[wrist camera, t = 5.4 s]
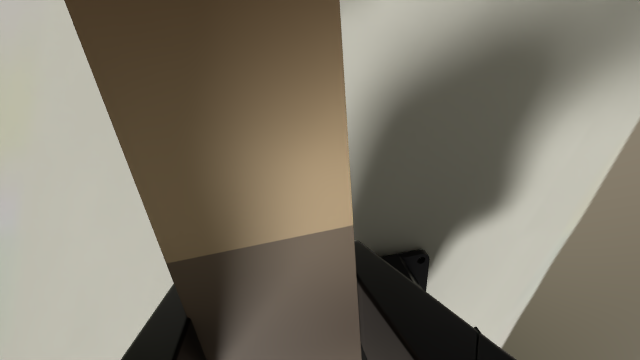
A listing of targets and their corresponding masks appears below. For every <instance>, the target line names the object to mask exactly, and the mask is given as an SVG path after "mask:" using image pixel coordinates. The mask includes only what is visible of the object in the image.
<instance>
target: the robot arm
mask: <svg viewBox="0 0 640 360" xmlns="http://www.w3.org/2000/svg"><path fill="white" fill-rule="evenodd" d="M354 245H355V261H356V277H357V293H358V310H359V326H360V342H361V358H362V360H516V359H515V358H514V357H512V356H511V355H510V354H508V353H507V352H505V351H504V350H503V349H501V348H500V347H498V346H497V345H496V344H494V343H493V342H492V341H490V340H489V339H488V338H486V337H485V336H484V335H483V334H481V332H480V331H479V330H478V328H477V327H474V328H473V327H472V326H470V325H469V324H468V323H466V322H465V321H464V320H462V319H461V318H460V317H459V316H457V315H456V314H455V313H453V312H452V311H451V310H449V309H448V308H447V307H445V306H444V305H443V304H441V303H440V302H439V301H437V300H436V299H435V298H433V297H432V296H431V295H429V294H428V293H427V292H426V286H427V277H428V267H429V256H428V254H427V253H426V252H425V250H415V251H410V252H405V253H400V254H395V255H390V256H385V257H379V256H378V255H377V254H375V253H374V252H373V251H371V250H370V249H369V248H367V247H366V246H365V245H363V244H362V243H361V242H359V241H354ZM419 258H420V259H419ZM121 360H206V357H205V355H204V352H203V349H202V347H201V344H200V341H199V339H198V336H197V334H196V331H195V328H194V326H193V323H192V321H191V319H190V318H189V317H187V316H186V313H185V310H184V308H183V305H182V303H181V300H180V298H179V295H178V292H177V290H176V287H175V285H174V284H173V285H172V287H171V288H170V290H169V291H168V293H167V294H166V295H165V297H164V298H163V300H162V301H161V303H160V304H159V306H158V307H157V308H156V310H155V311H154V313H153V314H152V316H151V317H150V318H149V320H148V321H147V323H146V324H145V326H144V327H143V329H142V330H141V331H140V333H139V334H138V336H137V337H136V339H135V340H134V341H133V343H132V344H131V346H130V347H129V349H128V350H127V352H126V353H125V354H124V356H123V357H122V359H121Z"/></svg>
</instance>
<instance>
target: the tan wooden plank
mask: <svg viewBox="0 0 640 360" xmlns="http://www.w3.org/2000/svg"><path fill="white" fill-rule="evenodd" d="M64 1H65V3H66V6H67V8H68V11H69V14H70V16H71V19H72V21H73V24H74V26H75V29H76V32H77V34H78V37H79V39H80V42H81V45H82V47H83V50H84V52H85V55H86V57H87V60H88V63H89V65H90V68H91V70H92V73H93V75H94V78H95V81H96V83H97V86H98V88H99V91H100V94H101V96H102V99H103V101H104V104H105V106H106V109H107V112H108V114H109V117H110V119H111V122H112V125H113V127H114V130H115V132H116V135H117V137H118V140H119V143H120V145H121V148H122V150H123V153H124V156H125V158H126V161H127V163H128V166H129V168H130V171H131V174H132V176H133V179H134V181H135V184H136V187H137V189H138V192H139V194H140V197H141V199H142V202H143V205H144V207H145V210H146V212H147V215H148V217H149V220H150V223H151V225H152V228H153V230H154V233H155V236H156V238H157V241H158V243H159V246H160V248H161V251H162V254H163V256H164V259H165V261H166V264H167V267H168V269H169V272H170V274H171V277H172V279H173V282H174V285H175V287H176V290H177V292H178V295H179V298H180V300H181V303H182V305H183V308H184V310H185V313H186V316H187V317H189V318H190V319H191V321H192V323H193V326H194V328H195V331H196V334H197V336H198V339H199V341H200V344H201V347H202V349H203V352H204V355H205V357H206V360H362V358H361V342H360V326H359V310H358V293H357V277H356V261H355V245H354V229H353V213H352V196H351V180H350V164H349V148H348V132H347V115H346V99H345V83H344V67H343V51H342V35H341V18H340V2H339V0H64Z"/></svg>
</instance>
